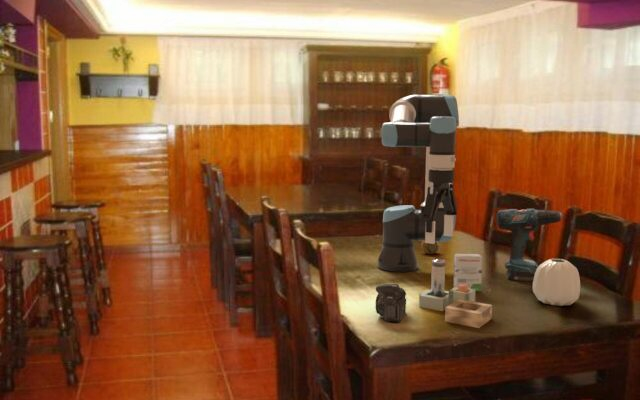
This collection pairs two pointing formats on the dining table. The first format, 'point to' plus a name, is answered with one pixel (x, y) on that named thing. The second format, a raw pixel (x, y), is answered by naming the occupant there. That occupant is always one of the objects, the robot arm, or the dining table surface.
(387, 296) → the camera
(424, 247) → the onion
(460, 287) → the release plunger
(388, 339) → the dining table surface
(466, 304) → the block
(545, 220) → the power drill
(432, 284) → the metal peg
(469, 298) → the socket block
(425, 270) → the dining table surface
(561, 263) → the vase
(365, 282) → the dining table surface
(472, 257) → the ink box
